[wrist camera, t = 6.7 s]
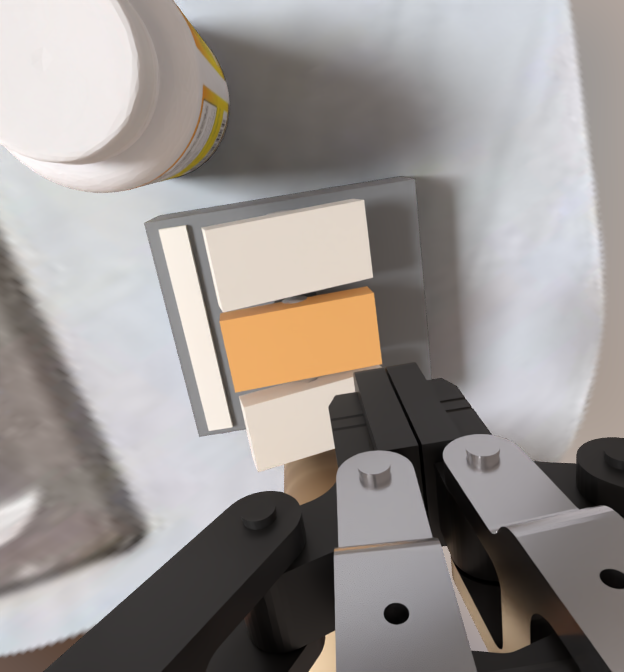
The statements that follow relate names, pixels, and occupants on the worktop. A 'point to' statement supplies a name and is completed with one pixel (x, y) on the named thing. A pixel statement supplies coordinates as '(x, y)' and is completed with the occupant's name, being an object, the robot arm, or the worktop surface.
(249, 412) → the paddle near post
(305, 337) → the paddle middle
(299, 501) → the pine post
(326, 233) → the paddle near bottle
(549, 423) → the worktop surface
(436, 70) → the worktop surface
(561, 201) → the worktop surface
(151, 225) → the board
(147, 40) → the supplement bottle
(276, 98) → the worktop surface
